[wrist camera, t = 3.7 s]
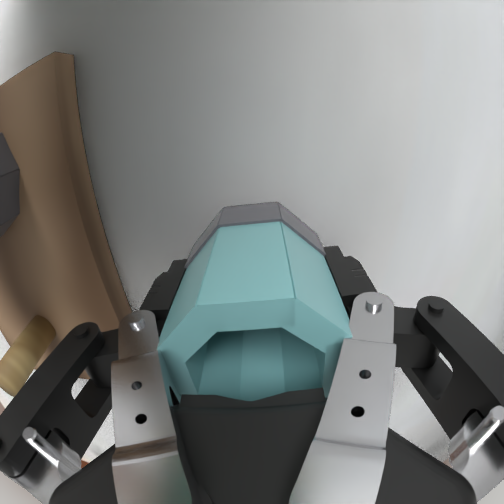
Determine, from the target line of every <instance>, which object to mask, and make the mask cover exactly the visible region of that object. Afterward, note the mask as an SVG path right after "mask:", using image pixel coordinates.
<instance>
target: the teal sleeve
mask: <svg viewBox="0 0 504 504" xmlns="http://www.w3.org/2000/svg"><path fill="white" fill-rule="evenodd" d="M325 255H326V253H325V251H324V248H323V246H322V244H321V242H320V240H319V237H318V235H317V233H315V232H314V231H313V230H312V229H311V228H309V227H308V226H307V225H306V224H305V223H303V222H302V221H301V220H300V219H299V218H297V217H296V216H295V215H294V214H292V213H291V212H290V211H289V210H287V209H286V208H285V207H284V206H282V205H281V204H280V203H279V202H270V203H260V204H250V205H240V206H230V207H224V208H223V209H222V210H221V211H220V212H219V214H218V215H217V216H216V217H215V219H214V220H213V221H212V223H211V224H210V225H209V226H208V228H207V229H206V230H205V231H204V233H203V234H202V235H201V237H200V238H199V239H198V241H197V242H196V243H195V244H194V246H193V248H192V251H191V253H190V255H189V257H188V260H187V262H186V264H185V267H184V268H186V271H185V274H184V276H183V279H182V281H181V284H180V286H179V289H178V291H177V294H176V296H175V299H174V301H173V304H172V306H171V309H170V311H169V314H168V316H167V319H166V321H165V324H164V327H163V329H162V332H161V335H160V337H159V344H158V347H157V350H161V351H162V354H163V356H164V358H165V361H166V364H167V367H168V370H169V373H170V375H171V377H172V380H173V382H174V384H175V386H176V388H177V390H178V392H179V394H181V395H182V394H190V395H218V396H223V397H228V398H233V399H239V400H244V401H255V400H259V399H263V398H266V397H270V396H274V395H277V394H281V393H284V392H287V391H297V390H306V389H315V388H323V390H324V395H325V397H327V398H328V395H329V392H330V389H331V385H332V382H333V378H334V375H335V371H336V367H337V364H338V360H339V356H340V352H341V348H342V344H343V340H344V338H350V337H353V336H352V333H351V330H350V328H349V321H350V320H349V317H348V315H347V312H346V310H345V307H344V305H343V302H342V299H341V297H340V294H339V292H338V289H337V287H336V284H335V282H334V280H333V277H332V275H331V272H330V270H329V267H328V265H327V263H326V260H325Z"/></svg>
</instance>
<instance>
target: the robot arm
mask: <svg viewBox="0 0 504 504" xmlns="http://www.w3.org/2000/svg"><path fill="white" fill-rule="evenodd" d="M323 248H324V251H325V253H326V255H325V260H326V263H327V265H328V267H329V270H330V272H331V275H332V277H333V280H334V282H335V284H336V287H337V289H338V292H339V294H340V297H341V299H342V302H343V305H344V307H345V310H346V312H347V315H348V317H349V320H350V321H349V328H350V330H351V333H352V336H353V337H350V338H344V340H343V344H342V348H341V352H340V356H339V360H338V364H337V367H336V371H335V375H334V378H333V382H332V385H331V389H330V392H329V395H328V398H327V397H325V395H324V390H323V388H315V389H306V390H297V391H287V392H284V393H281V394H277V395H274V396H270V397H266V398H263V399H259V400H255V401H244V400H239V399H233V398H228V397H223V396H218V395H190V394H182V395H181V394H179V392H178V390H177V388H176V386H175V384H174V382H173V380H172V377H171V375H170V373H169V370H168V367H167V364H166V361H165V358H164V356H163V354H162V351H161V350H157V347H158V344H159V337H160V335H161V332H162V329H163V327H164V324H165V321H166V319H167V316H168V314H169V311H170V309H171V306H172V304H173V301H174V299H175V296H176V294H177V291H178V289H179V286H180V284H181V281H182V279H183V276H184V274H185V271H186V268H184V267H185V264H186V262H187V260H188V259H184V260H174V261H173V263H172V265H171V266H170V268H169V270H168V272H163V273H162V274H161V275H160V276H159V277H157V278H156V279H155V281H154V283H153V285H152V288H150V290H149V294H147V296H146V298H145V300H144V302H143V303H142V305H141V307H140V309H139V310H138V311H134V312H131V313H129V314H128V315H126V316H125V317H124V318H122V320H121V321H120V323H119V327H118V328H117V329H114V330H109V331H105V332H101V331H100V329H99V327H98V325H97V324H96V323H94V322H85V323H82V324H79V325H77V326H76V327H74V328H73V329H72V330H71V331H70V332H69V333H68V334H67V335H66V336H65V338H64V339H63V340H62V341H61V342H60V343H59V344H58V345H57V347H56V348H55V349H54V350H53V351H52V352H51V353H50V355H49V356H48V357H47V358H46V359H45V360H44V361H43V363H42V364H41V365H40V366H39V367H38V369H37V370H36V371H35V372H34V373H33V375H32V376H31V377H30V378H29V379H28V381H27V382H26V383H25V384H24V386H23V387H22V388H21V389H20V391H19V392H18V393H17V394H16V396H15V397H14V398H13V399H12V401H11V402H10V403H9V405H8V406H7V407H6V409H5V410H4V411H3V413H2V414H1V415H0V471H2V472H3V473H4V475H6V476H7V477H8V478H10V479H11V480H13V481H14V482H15V483H17V484H18V485H20V486H22V487H23V488H25V489H26V490H27V491H28V492H30V493H31V494H32V495H33V496H34V497H35V498H37V499H38V500H39V501H40V502H41V503H43V504H477V502H478V501H479V500H480V499H482V498H483V497H484V496H485V495H487V494H488V493H489V492H490V491H491V490H492V489H493V488H495V487H496V486H497V485H498V484H499V483H500V482H501V481H502V480H503V479H504V355H503V354H502V353H501V352H500V351H499V350H498V348H497V347H496V346H495V345H494V344H493V343H492V342H491V341H490V340H489V339H488V338H487V337H486V336H485V335H483V334H482V333H481V332H480V331H479V330H478V329H477V328H476V327H475V326H474V325H473V324H472V323H471V322H470V321H469V320H468V319H467V318H466V317H465V316H464V315H462V314H461V313H460V312H459V311H458V310H457V309H456V308H455V307H454V306H453V305H452V304H450V303H449V302H448V301H447V300H445V299H443V298H440V297H436V296H427V297H424V298H422V299H420V300H419V301H418V303H417V307H416V309H415V308H401V307H396V306H394V303H393V301H392V300H391V299H390V298H389V297H388V296H386V295H384V294H382V293H378V292H377V291H376V289H375V287H374V285H373V284H372V282H371V280H370V279H369V277H368V276H367V274H366V272H365V270H363V267H362V265H361V264H360V262H359V261H358V260H356V259H355V258H353V257H351V256H347V257H344V256H343V254H342V252H341V250H340V249H339V247H338V246H330V247H323ZM440 352H441V353H442V355H443V356H444V357H445V358H446V359H447V360H448V361H449V363H450V364H451V366H452V369H453V372H452V371H451V370H450V369H449V367H448V366H447V365H446V364H445V363H444V361H443V360H442V359H441V358H440V357H439V356H438V355H439V353H440ZM395 367H401V369H402V370H403V372H404V373H405V375H406V376H407V377H408V379H409V380H410V382H411V383H412V384H413V386H414V387H415V389H416V390H417V391H418V393H419V394H420V396H421V397H422V399H423V400H424V401H425V403H426V404H427V406H428V407H429V409H430V410H431V411H432V413H433V414H434V416H435V417H436V419H437V420H438V422H439V423H440V425H441V426H442V428H443V429H444V431H445V432H446V434H447V435H448V437H449V438H450V440H451V441H450V443H449V448H448V451H449V456H450V457H449V462H450V464H451V465H452V466H453V469H452V468H450V467H449V466H447V465H445V464H444V463H442V462H441V461H439V460H437V459H436V458H434V457H433V456H431V455H429V454H428V453H426V452H425V451H423V450H422V449H420V448H419V447H417V446H415V445H414V444H412V443H411V442H409V441H408V440H406V439H405V438H403V437H402V436H400V435H399V434H397V433H396V432H394V431H393V430H392V429H390V428H389V420H390V413H391V405H392V396H393V387H394V376H395ZM84 370H85V371H86V373H87V374H88V376H89V377H90V379H89V380H88V382H87V383H86V385H85V386H84V387H83V389H82V390H81V392H80V393H79V394H78V396H77V397H76V399H75V400H74V399H73V397H72V393H71V390H72V386H73V384H74V383H75V382H76V380H77V379H78V378H79V376H80V375H81V374H82V372H83V371H84ZM111 409H112V411H113V425H114V436H115V444H114V445H113V446H111V447H110V448H109V449H107V450H106V451H105V452H103V453H102V454H101V455H99V456H98V457H97V458H95V459H94V460H93V461H91V462H90V463H89V464H87V465H86V466H85V467H83V468H82V469H81V458H82V457H83V455H84V453H85V452H86V450H87V448H88V447H89V445H90V443H91V442H92V440H93V438H94V437H95V435H96V433H97V432H98V430H99V428H100V427H101V425H102V423H103V422H104V420H105V419H106V417H107V415H108V414H109V412H110V410H111Z"/></svg>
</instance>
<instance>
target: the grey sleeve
mask: <svg viewBox="0 0 504 504" xmlns="http://www.w3.org/2000/svg"><path fill="white" fill-rule="evenodd" d="M19 176H20V169H19V166H18V164H17V162H16V160H15V158H14V156H13V154H12V152H11V150H10V148H9V146H8V144H7V142H6V139H5V137H4V135H3V133H0V237H1V236H2V235H4V233H5V232H6V231H7V229H8V228H9V227H10V225H11V224H12V223H13V221H14V220H15V219H16V218H17V216H18V215H19V214H20V203H19Z"/></svg>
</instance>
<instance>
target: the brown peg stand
mask: <svg viewBox="0 0 504 504" xmlns="http://www.w3.org/2000/svg"><path fill="white" fill-rule="evenodd" d="M0 133H3V135H4V137H5V139H6V142H7V144H8V146H9V148H10V150H11V152H12V154H13V156H14V158H15V160H16V162H17V164H18V166H19V169H20V176H19V203H20V214H19V215H18V216H17V218H16V219H15V220H14V221H13V223H12V224H11V225H10V227H9V228H8V229H7V231H6V232H5V233H4V235H2V236H1V237H0V330H1V332H2V334H3V335H4V337H5V339H6V340H7V342H8V343H9V345H10V348H9V350H8V351H7V352H6V354H5V355H4V356H3V358H2V359H1V361H0V387H1V388H2V389H3V390H4V391H5V392H7V393H8V394H9V395H11V396H13V397H15V396H16V394H17V393H18V392H19V391H20V389H21V388H22V387H23V386H24V384H25V382H26V381H27V379H28V377H29V376H30V374H31V373H32V371H33V369H35V370H37V369H38V367H39V366H40V365H41V364H42V363H43V361H44V360H45V359H46V358H47V357H48V356H49V355H50V353H51V352H52V351H53V350H54V349H55V348H56V347H57V345H58V344H59V343H60V342H61V341H62V340H63V339H64V338H65V336H66V335H67V334H68V333H69V332H70V331H71V330H72V329H73V328H74V327H76V326H77V325H79V324H82V323H85V322H94V323H96V324H97V325H98V327H99V329H100V331H101V332H105V331H109V330H114V329H117V328H118V327H119V323H120V321H121V320H122V318H124V317H125V316H126V315H128V314H129V313H131V312H132V310H131V308H130V305H129V303H128V300H127V297H126V295H125V292H124V289H123V287H122V284H121V281H120V278H119V275H118V273H117V270H116V267H115V264H114V261H113V258H112V255H111V252H110V248H109V245H108V242H107V239H106V235H105V232H104V228H103V225H102V221H101V218H100V214H99V210H98V207H97V203H96V199H95V195H94V190H93V186H92V182H91V177H90V173H89V168H88V163H87V158H86V153H85V148H84V142H83V136H82V130H81V124H80V117H79V109H78V101H77V92H76V82H75V70H74V55H70V54H65V53H59V52H53V53H51V54H50V55H48V56H46V57H44V58H42V59H41V60H39V61H37V62H36V63H34V64H32V65H31V66H29V67H27V68H26V69H24V70H23V71H21V72H20V73H18V74H17V75H15V76H14V77H12V78H11V79H9V80H8V81H6V82H5V83H3V84H2V85H1V86H0ZM79 378H82V379H90V377H89V376H88V374H87V373H86V371H85V370H84V371H83V372H82V374H81V375H80V376H79Z"/></svg>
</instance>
